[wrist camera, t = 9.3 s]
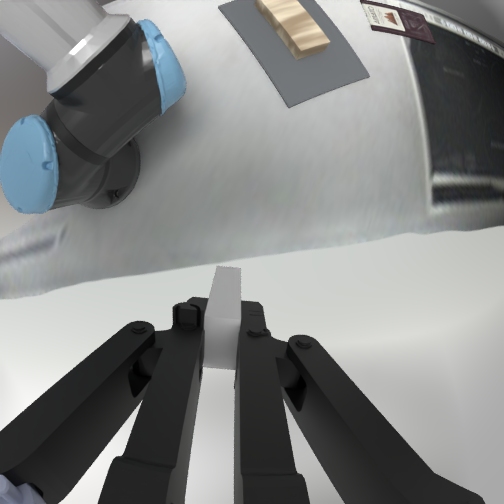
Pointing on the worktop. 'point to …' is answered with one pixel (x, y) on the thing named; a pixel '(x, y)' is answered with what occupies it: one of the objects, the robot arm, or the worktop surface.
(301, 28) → the wooden block
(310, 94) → the rubber mat
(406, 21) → the chocolate bar
